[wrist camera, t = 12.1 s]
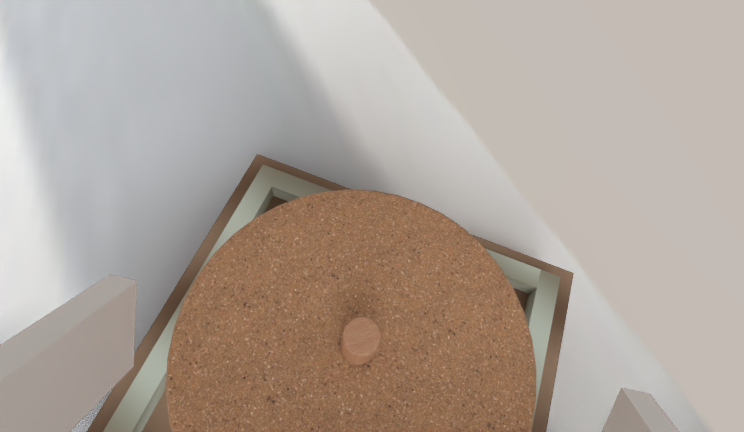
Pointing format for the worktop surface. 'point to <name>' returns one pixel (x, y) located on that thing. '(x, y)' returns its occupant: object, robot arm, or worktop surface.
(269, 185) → the tray
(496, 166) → the worktop surface
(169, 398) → the lidded jar
